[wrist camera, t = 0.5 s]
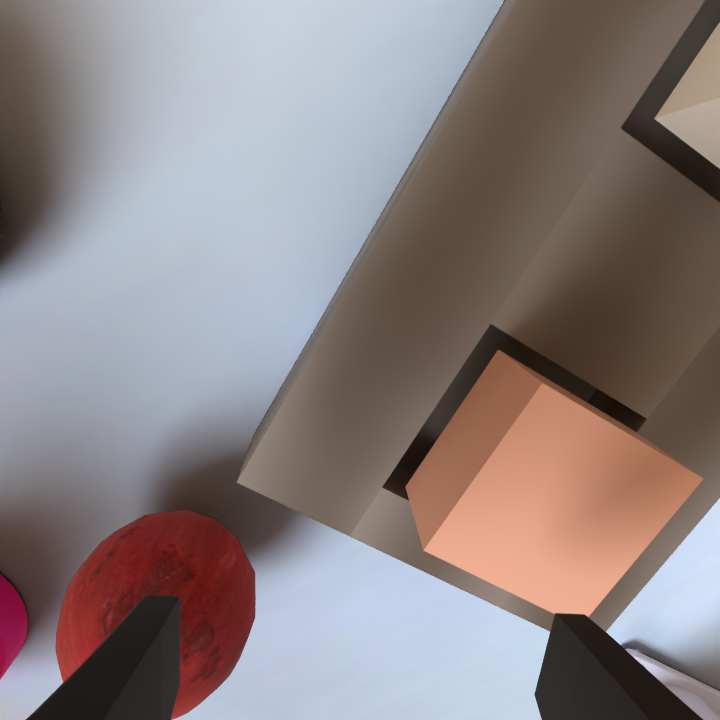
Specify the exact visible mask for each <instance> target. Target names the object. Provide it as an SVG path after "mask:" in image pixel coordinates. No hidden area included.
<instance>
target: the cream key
mask: <svg viewBox="0 0 720 720" xmlns="http://www.w3.org/2000/svg"><path fill="white" fill-rule="evenodd" d="M654 119H655V120H657V121H658V122H659V123H661V124H662V125H663V126H664V127H666V128H667V129H668V130H670V131H671V132H672V133H674V134H675V135H676V136H677V137H679V138H680V139H681V140H683V141H684V142H685V143H687V144H688V145H689V146H691V147H692V148H693V149H694V150H696V151H697V152H698V153H700V154H701V155H702V156H704V157H705V158H706V159H708V160H709V161H710V162H711V163H713V164H714V165H715V166H717V167H718V168H719V169H720V22H719V24H718V25H717V27H716V28H715V30H714V31H713V33H712V34H711V36H710V37H709V39H708V40H707V41H706V43H705V44H704V46H703V47H702V49H701V50H700V52H699V53H698V55H697V56H696V58H695V59H694V61H693V62H692V64H691V65H690V67H689V68H688V70H687V71H686V73H685V74H684V75H683V77H682V78H681V80H680V81H679V83H678V84H677V86H676V87H675V89H674V90H673V92H672V93H671V95H670V96H669V98H668V99H667V101H666V102H665V104H664V105H663V107H662V108H661V110H660V111H659V112H658V114H657V115H656V117H655V118H654Z"/></svg>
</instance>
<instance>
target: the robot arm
mask: <svg viewBox="0 0 720 720" xmlns="http://www.w3.org/2000/svg"><path fill="white" fill-rule="evenodd" d="M180 599H181V597H176V596H153V595H146V596H145V597H144V598H143V599H141V600H140V601H139V602H138V604H137V605H136V606H135V607H134V608H133V609H132V610H131V611H130V612H129V614H128V615H127V616H126V617H125V618H124V619H123V620H122V621H121V622H120V624H119V625H118V626H117V627H116V628H115V629H114V630H113V631H112V632H111V633H110V634H109V636H108V637H107V638H106V639H105V640H104V641H103V642H102V643H101V644H100V645H99V646H98V647H97V648H96V649H95V651H94V652H93V653H92V654H91V655H90V656H89V657H88V658H87V659H86V660H85V661H84V662H83V663H82V664H81V665H80V666H79V667H78V668H77V669H76V670H75V671H74V672H73V673H72V674H71V675H70V676H69V677H68V678H67V679H66V681H65V682H64V683H63V684H62V685H61V686H60V687H59V688H58V689H57V690H56V691H55V692H54V693H53V694H52V695H51V696H50V697H49V698H48V699H47V700H46V701H45V702H44V703H43V704H42V705H41V706H40V707H39V708H38V709H37V710H36V711H35V712H34V713H33V714H31V715H30V716H29V717H28V718H27V719H26V720H171V716H172V712H173V709H174V705H175V701H176V697H177V694H178V690H179V686H180ZM535 698H536V701H537V704H538V708H539V711H540V715H541V718H542V720H720V691H718V690H716V689H714V688H712V687H710V686H708V685H705V684H703V683H701V682H699V681H697V680H695V679H693V678H691V677H689V676H687V675H685V674H683V673H681V672H679V671H677V670H675V669H672V668H670V667H668V666H666V665H664V664H662V663H660V662H658V661H656V660H654V659H652V658H650V657H648V656H646V655H644V654H642V653H640V652H637V651H635V650H633V649H624V648H623V647H622V646H621V645H619V644H618V643H617V642H616V641H615V640H614V639H613V638H612V637H611V636H609V635H608V634H607V633H606V632H605V631H604V630H603V629H602V628H600V627H599V626H598V625H597V624H596V623H595V622H593V621H592V620H591V619H590V618H589V617H587V616H586V615H585V614H565V613H555V616H554V620H553V624H552V628H551V631H550V635H549V639H548V643H547V647H546V651H545V655H544V659H543V663H542V667H541V671H540V675H539V679H538V683H537V687H536V691H535Z"/></svg>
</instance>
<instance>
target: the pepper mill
mask: <svg viewBox="0 0 720 720" xmlns="http://www.w3.org/2000/svg"><path fill="white" fill-rule="evenodd" d="M27 631H28V617H27V613H26V608H25V604H24V603H23V601H22V599H21V597H20V596H19V594H18V592H17V590H16V589H15V587H14V586H13V585H12V584H11V583H10V582H9V581H8V580H7V579H6V578H5V577H4V576H3V575H2V574H1V573H0V679H1V678H2V676H3V675H4V673H5V672H6V671H7V669H8V668H9V666H10V665H11V664H12V662H13V661H14V659H15V658H16V656H17V655H18V654H19V652H20V650H21V649H22V647H23V645H24V643H25V640H26V636H27Z"/></svg>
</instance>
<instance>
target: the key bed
mask: <svg viewBox="0 0 720 720" xmlns="http://www.w3.org/2000/svg"><path fill="white" fill-rule="evenodd" d="M719 22H720V0H504V2H503V4H502V6H501V7H500V9H499V11H498V13H497V14H496V16H495V18H494V20H493V21H492V23H491V25H490V26H489V28H488V30H487V32H486V33H485V35H484V37H483V39H482V40H481V42H480V44H479V45H478V47H477V49H476V51H475V52H474V54H473V56H472V58H471V59H470V61H469V63H468V65H467V66H466V68H465V70H464V71H463V73H462V75H461V77H460V78H459V80H458V82H457V84H456V85H455V87H454V89H453V90H452V92H451V94H450V96H449V97H448V99H447V101H446V103H445V104H444V106H443V108H442V110H441V111H440V113H439V115H438V116H437V118H436V120H435V122H434V123H433V125H432V127H431V129H430V130H429V132H428V134H427V136H426V137H425V139H424V141H423V142H422V144H421V146H420V148H419V149H418V151H417V153H416V155H415V156H414V158H413V160H412V161H411V163H410V165H409V167H408V168H407V170H406V172H405V174H404V175H403V177H402V179H401V181H400V182H399V184H398V186H397V187H396V189H395V191H394V193H393V194H392V196H391V198H390V200H389V201H388V203H387V205H386V206H385V208H384V210H383V212H382V213H381V215H380V217H379V219H378V220H377V222H376V224H375V226H374V227H373V229H372V231H371V232H370V234H369V236H368V238H367V239H366V241H365V243H364V245H363V246H362V248H361V250H360V252H359V253H358V255H357V257H356V258H355V260H354V262H353V264H352V265H351V267H350V269H349V271H348V272H347V274H346V276H345V277H344V279H343V281H342V283H341V284H340V286H339V288H338V290H337V291H336V293H335V295H334V297H333V298H332V300H331V302H330V303H329V305H328V307H327V309H326V310H325V312H324V314H323V316H322V317H321V319H320V321H319V322H318V324H317V326H316V328H315V329H314V331H313V333H312V335H311V336H310V338H309V340H308V342H307V343H306V345H305V347H304V348H303V350H302V352H301V354H300V355H299V357H298V359H297V361H296V362H295V364H294V366H293V368H292V369H291V371H290V373H289V374H288V376H287V378H286V380H285V381H284V383H283V385H282V387H281V388H280V390H279V392H278V393H277V395H276V397H275V399H274V400H273V402H272V404H271V406H270V407H269V409H268V411H267V413H266V414H265V416H264V418H263V419H262V421H261V423H260V425H259V426H258V428H257V430H256V432H255V433H254V435H253V438H252V441H251V444H250V446H249V449H248V452H247V455H246V457H245V460H244V463H243V466H242V469H241V471H240V474H239V477H238V480H237V482H236V483H238V484H240V485H243V486H245V487H247V488H249V489H251V490H253V491H255V492H257V493H259V494H262V495H264V496H266V497H268V498H270V499H272V500H274V501H276V502H278V503H280V504H283V505H285V506H287V507H289V508H291V509H293V510H295V511H297V512H299V513H302V514H304V515H306V516H308V517H310V518H312V519H314V520H316V521H318V522H321V523H323V524H325V525H327V526H329V527H331V528H333V529H335V530H337V531H340V532H342V533H344V534H346V535H348V536H350V537H352V538H354V539H356V540H358V541H361V542H363V543H365V544H367V545H369V546H371V547H373V548H375V549H377V550H380V551H382V552H384V553H386V554H388V555H390V556H392V557H394V558H396V559H399V560H401V561H403V562H405V563H407V564H409V565H411V566H413V567H415V568H418V569H420V570H422V571H424V572H426V573H428V574H430V575H432V576H434V577H436V578H439V579H441V580H443V581H445V582H447V583H449V584H451V585H453V586H455V587H458V588H460V589H462V590H464V591H466V592H468V593H470V594H472V595H474V596H477V597H479V598H481V599H483V600H485V601H487V602H489V603H491V604H493V605H496V606H498V607H500V608H502V609H504V610H506V611H508V612H510V613H512V614H514V615H517V616H519V617H521V618H523V619H525V620H527V621H529V622H531V623H533V624H536V625H538V626H540V627H542V628H544V629H546V630H548V631H551V628H552V624H553V620H554V616H555V614H553V613H551V612H549V611H547V610H545V609H543V608H541V607H539V606H537V605H535V604H533V603H531V602H529V601H527V600H525V599H522V598H520V597H518V596H516V595H514V594H512V593H510V592H508V591H506V590H504V589H502V588H500V587H498V586H496V585H494V584H491V583H489V582H487V581H485V580H483V579H481V578H479V577H477V576H475V575H473V574H471V573H469V572H467V571H465V570H463V569H460V568H458V567H456V566H454V565H452V564H450V563H448V562H446V561H444V560H442V559H440V558H438V557H436V556H434V555H432V554H430V553H427V552H425V551H423V547H422V544H421V540H420V537H419V533H418V530H417V526H416V523H415V519H414V516H413V512H412V508H411V505H410V501H409V498H408V494H407V491H406V485H407V484H408V482H409V481H410V479H411V478H412V476H413V475H414V473H415V472H416V470H417V469H418V467H419V466H420V464H421V463H422V462H423V460H424V459H425V457H426V456H427V454H428V453H429V451H430V450H431V448H432V447H433V445H434V444H435V442H436V441H437V439H438V438H439V436H440V435H441V433H442V432H443V430H444V429H445V427H446V426H447V425H448V423H449V422H450V420H451V419H452V417H453V416H454V414H455V413H456V411H457V410H458V408H459V407H460V405H461V404H462V402H463V401H464V399H465V398H466V396H467V395H468V393H469V392H470V391H471V389H472V388H473V386H474V385H475V383H476V382H477V380H478V379H479V377H480V376H481V374H482V373H483V371H484V370H485V368H486V367H487V365H488V364H489V362H490V361H491V359H492V358H493V357H494V355H495V354H496V352H497V351H498V350H500V351H502V352H503V353H505V354H507V355H508V356H510V357H512V358H513V359H515V360H517V361H518V362H520V363H522V364H523V365H525V366H527V367H528V368H530V369H532V370H533V371H535V372H537V373H538V374H540V375H542V376H543V377H545V378H547V379H549V380H550V381H552V382H554V383H555V384H557V385H559V386H560V387H562V388H564V389H565V390H567V391H569V392H570V393H572V394H574V395H575V396H577V397H579V398H580V399H582V400H584V401H585V402H587V403H589V404H590V405H592V406H594V407H595V408H597V409H599V410H600V411H602V412H604V413H605V414H607V415H609V416H610V417H612V418H614V419H615V420H617V421H619V422H620V423H622V424H624V425H625V426H627V427H629V428H630V429H632V430H633V431H635V432H636V433H638V434H639V435H641V436H642V437H644V438H645V439H647V440H648V441H649V442H651V443H652V444H654V445H655V446H657V447H658V448H660V449H661V450H663V451H664V452H665V453H667V454H668V455H670V456H671V457H673V458H674V459H676V460H677V461H679V462H680V463H682V464H683V465H684V466H686V467H687V468H689V469H690V470H692V471H693V472H695V473H696V474H698V475H699V476H700V477H702V478H703V480H702V481H701V483H700V484H699V485H698V486H697V487H696V489H695V490H694V491H693V492H692V493H691V495H690V496H689V497H688V498H687V499H686V501H685V502H684V503H683V504H682V505H681V507H680V508H679V509H678V510H677V511H676V513H675V514H674V515H673V516H672V517H671V519H670V520H669V521H668V522H667V523H666V525H665V526H664V527H663V528H662V529H661V531H660V532H659V533H658V534H657V535H656V537H655V538H654V539H653V540H652V541H651V543H650V544H649V545H648V546H647V547H646V548H645V550H644V551H643V552H642V553H641V554H640V556H639V557H638V558H637V559H636V560H635V562H634V563H633V564H632V565H631V566H630V568H629V569H628V570H627V571H626V572H625V574H624V575H623V576H622V577H621V578H620V580H619V581H618V582H617V583H616V584H615V586H614V587H613V588H612V589H611V590H610V592H609V593H608V594H607V595H606V596H605V598H604V599H603V600H602V601H601V602H600V604H599V605H598V606H597V607H596V608H595V610H594V611H593V612H592V613H591V614H590V616H589V618H590V619H591V620H592V621H593V622H595V623H596V624H597V625H598V626H599V627H600V628H602V629H603V630H604V631H605V632H606V631H607V630H608V628H609V627H610V626H611V625H612V624H613V623H614V621H615V620H616V619H617V618H618V617H619V616H620V614H621V613H622V612H623V611H624V610H625V608H626V607H627V606H628V605H629V604H630V603H631V601H632V600H633V599H634V598H635V597H636V596H637V594H638V593H639V592H640V591H641V590H642V589H643V587H644V586H645V585H646V584H647V583H648V581H649V580H650V579H651V578H652V577H653V576H654V574H655V573H656V572H657V571H658V570H659V569H660V567H661V566H662V565H663V564H664V563H665V561H666V560H667V559H668V558H669V557H670V556H671V554H672V553H673V552H674V551H675V550H676V549H677V547H678V546H679V545H680V544H681V543H682V542H683V540H684V539H685V538H686V537H687V536H688V534H689V533H690V532H691V531H692V530H693V529H694V527H695V526H696V525H697V524H698V523H699V522H700V520H701V519H702V518H703V517H704V516H705V515H706V513H707V512H708V511H709V510H710V509H711V507H712V506H713V505H714V504H715V503H716V502H717V500H718V499H719V498H720V169H719V168H718V167H717V166H715V165H714V164H713V163H711V162H710V161H709V160H708V159H706V158H705V157H704V156H702V155H701V154H700V153H698V152H697V151H696V150H694V149H693V148H692V147H691V146H689V145H688V144H687V143H685V142H684V141H683V140H681V139H680V138H679V137H677V136H676V135H675V134H674V133H672V132H671V131H670V130H668V129H667V128H666V127H664V126H663V125H662V124H661V123H659V122H658V121H657V120H655V119H654V118H655V117H656V115H657V114H658V112H659V111H660V110H661V108H662V107H663V105H664V104H665V102H666V101H667V99H668V98H669V96H670V95H671V93H672V92H673V90H674V89H675V87H676V86H677V84H678V83H679V81H680V80H681V78H682V77H683V75H684V74H685V73H686V71H687V70H688V68H689V67H690V65H691V64H692V62H693V61H694V59H695V58H696V56H697V55H698V53H699V52H700V50H701V49H702V47H703V46H704V44H705V43H706V41H707V40H708V39H709V37H710V36H711V34H712V33H713V31H714V30H715V28H716V27H717V25H718V24H719Z"/></svg>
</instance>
